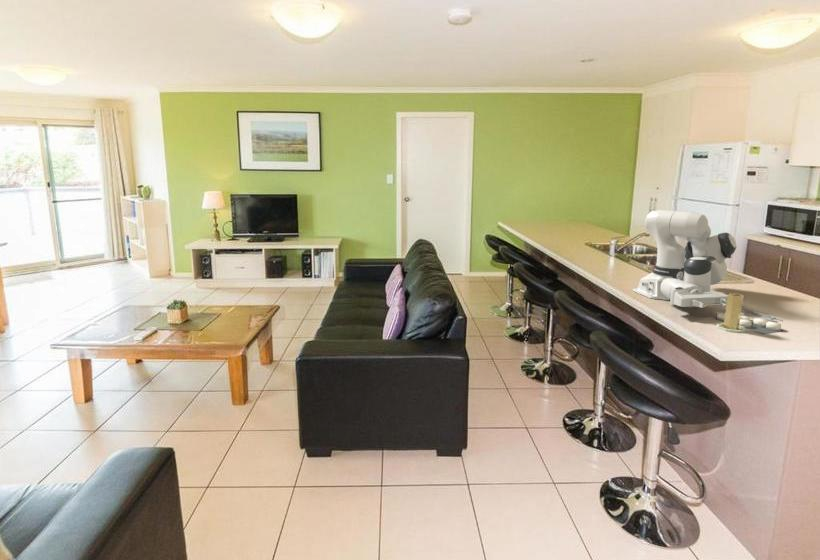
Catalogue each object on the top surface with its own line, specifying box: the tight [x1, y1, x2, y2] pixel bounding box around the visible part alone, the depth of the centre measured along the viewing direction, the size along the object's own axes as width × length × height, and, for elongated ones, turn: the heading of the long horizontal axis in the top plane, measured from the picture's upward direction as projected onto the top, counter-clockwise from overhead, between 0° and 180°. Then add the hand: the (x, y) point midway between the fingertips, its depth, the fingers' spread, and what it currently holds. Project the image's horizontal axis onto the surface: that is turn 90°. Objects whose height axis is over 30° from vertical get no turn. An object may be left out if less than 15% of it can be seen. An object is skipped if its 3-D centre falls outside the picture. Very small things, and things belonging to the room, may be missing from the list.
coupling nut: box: [722, 292, 745, 330], centre depth 179 cm, size 4×5×13 cm
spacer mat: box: [712, 311, 787, 335], centre depth 185 cm, size 20×12×3 cm, turn 19°
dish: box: [715, 322, 747, 334], centre depth 180 cm, size 9×9×2 cm
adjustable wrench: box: [741, 304, 784, 323], centre depth 200 cm, size 25×6×2 cm, turn 177°
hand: (715, 305), depth 186 cm, fingers open, 8 cm apart
